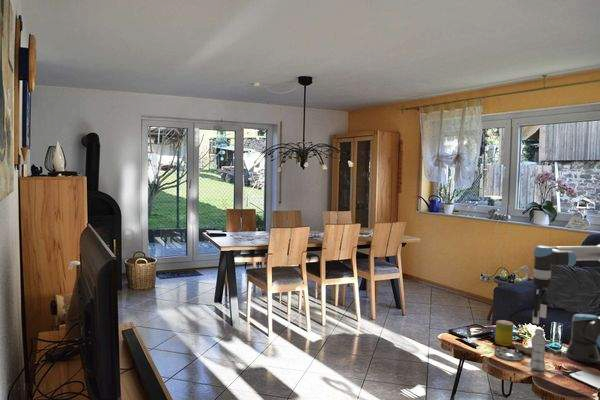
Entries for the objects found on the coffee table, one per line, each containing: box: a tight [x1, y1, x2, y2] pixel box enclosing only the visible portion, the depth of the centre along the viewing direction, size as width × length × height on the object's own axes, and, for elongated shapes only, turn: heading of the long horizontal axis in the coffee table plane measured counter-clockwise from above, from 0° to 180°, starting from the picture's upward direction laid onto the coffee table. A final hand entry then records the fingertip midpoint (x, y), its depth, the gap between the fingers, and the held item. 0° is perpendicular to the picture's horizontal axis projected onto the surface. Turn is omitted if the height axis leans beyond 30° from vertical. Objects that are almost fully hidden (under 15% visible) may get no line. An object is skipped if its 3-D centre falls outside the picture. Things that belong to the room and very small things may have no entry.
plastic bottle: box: [529, 328, 547, 372], centre depth 231 cm, size 6×7×20 cm
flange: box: [493, 347, 524, 362], centre depth 249 cm, size 14×14×2 cm
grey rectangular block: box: [514, 343, 532, 357], centre depth 252 cm, size 10×4×4 cm, turn 50°
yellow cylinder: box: [494, 319, 514, 347], centre depth 268 cm, size 9×9×12 cm
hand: (539, 320), depth 231 cm, fingers open, 13 cm apart
